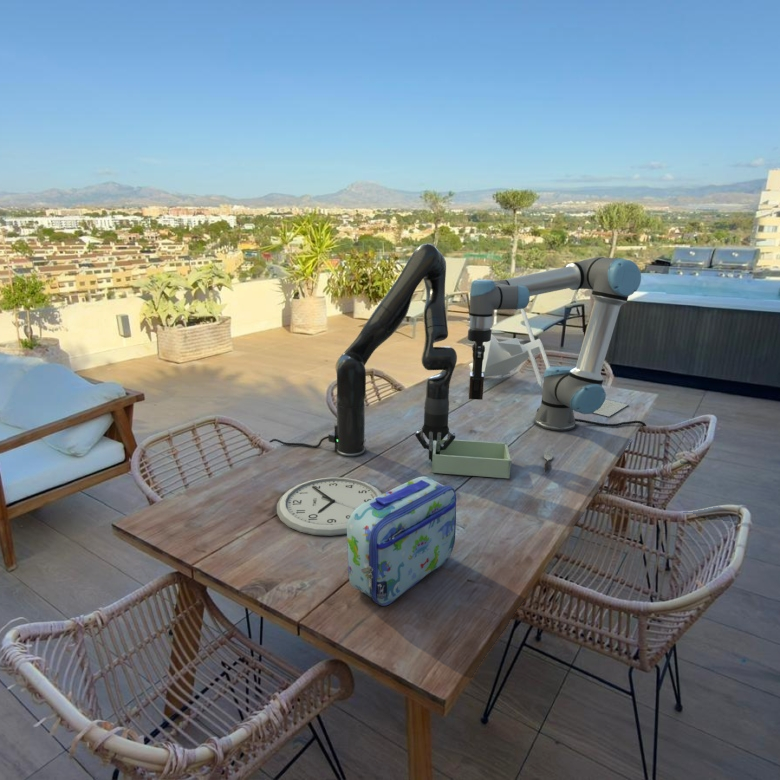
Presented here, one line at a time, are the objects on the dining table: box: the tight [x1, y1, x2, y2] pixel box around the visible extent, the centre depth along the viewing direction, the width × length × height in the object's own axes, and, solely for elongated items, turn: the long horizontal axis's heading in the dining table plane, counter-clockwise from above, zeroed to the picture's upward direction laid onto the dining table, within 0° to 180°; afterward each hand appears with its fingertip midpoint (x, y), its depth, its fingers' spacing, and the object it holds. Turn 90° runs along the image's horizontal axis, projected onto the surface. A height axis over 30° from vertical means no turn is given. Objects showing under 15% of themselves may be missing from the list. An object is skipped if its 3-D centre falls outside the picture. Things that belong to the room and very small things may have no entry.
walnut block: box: [468, 372, 485, 401], centre depth 176 cm, size 4×4×8 cm
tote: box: [431, 438, 512, 479], centre depth 166 cm, size 24×14×6 cm, turn 83°
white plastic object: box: [468, 308, 551, 390], centre depth 257 cm, size 37×45×31 cm
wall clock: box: [276, 476, 384, 537], centre depth 142 cm, size 30×2×30 cm
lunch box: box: [346, 475, 457, 607], centre depth 111 cm, size 26×11×21 cm, turn 134°
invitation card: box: [592, 398, 629, 418], centre depth 226 cm, size 21×1×15 cm
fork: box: [543, 448, 554, 473], centre depth 170 cm, size 3×16×2 cm, turn 160°
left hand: (433, 460), depth 168 cm, fingers closed on tote, 1 cm apart
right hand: (475, 396), depth 177 cm, fingers closed on walnut block, 4 cm apart
